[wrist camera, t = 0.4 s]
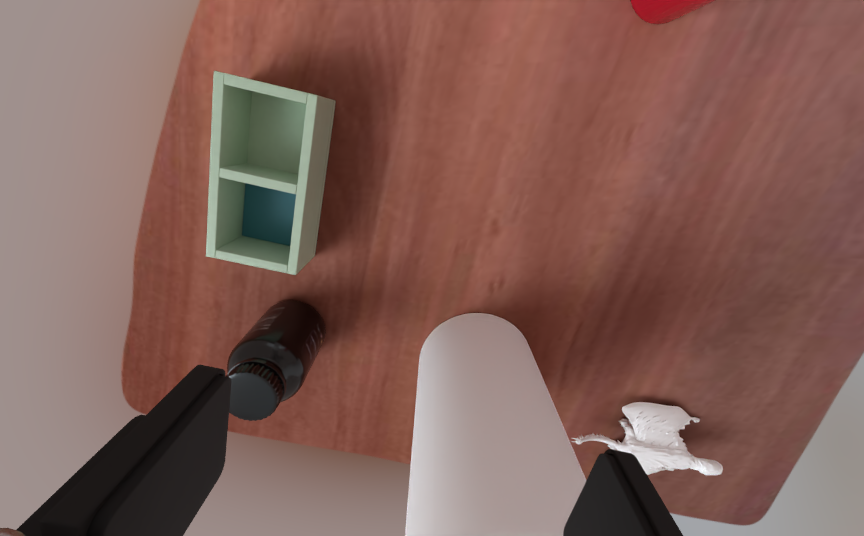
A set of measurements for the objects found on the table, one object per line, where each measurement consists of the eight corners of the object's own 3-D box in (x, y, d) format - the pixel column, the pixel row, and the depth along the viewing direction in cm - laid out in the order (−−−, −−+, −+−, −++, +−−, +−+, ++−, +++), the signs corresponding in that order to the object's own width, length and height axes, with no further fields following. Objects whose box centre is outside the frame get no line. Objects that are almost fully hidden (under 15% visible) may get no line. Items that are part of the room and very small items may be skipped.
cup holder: (237, 239, 40) (205, 256, 35) (247, 79, 36) (213, 70, 30) (315, 256, 41) (296, 275, 35) (336, 100, 36) (317, 95, 31)
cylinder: (548, 384, 45) (669, 661, 22) (449, 425, 47) (462, 718, 24) (503, 294, 42) (589, 505, 18) (399, 341, 44) (353, 588, 20)
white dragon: (547, 454, 49) (556, 482, 45) (573, 384, 45) (586, 408, 41) (687, 479, 50) (708, 509, 46) (723, 412, 46) (749, 439, 42)
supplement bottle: (264, 350, 44) (205, 426, 33) (264, 294, 42) (201, 354, 31) (326, 358, 45) (288, 435, 33) (329, 302, 42) (290, 365, 31)
